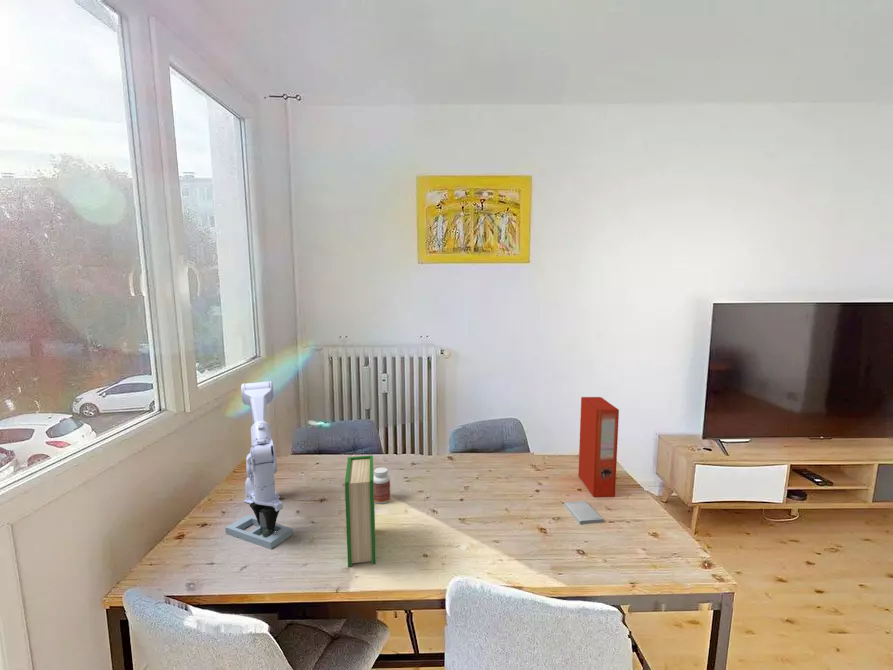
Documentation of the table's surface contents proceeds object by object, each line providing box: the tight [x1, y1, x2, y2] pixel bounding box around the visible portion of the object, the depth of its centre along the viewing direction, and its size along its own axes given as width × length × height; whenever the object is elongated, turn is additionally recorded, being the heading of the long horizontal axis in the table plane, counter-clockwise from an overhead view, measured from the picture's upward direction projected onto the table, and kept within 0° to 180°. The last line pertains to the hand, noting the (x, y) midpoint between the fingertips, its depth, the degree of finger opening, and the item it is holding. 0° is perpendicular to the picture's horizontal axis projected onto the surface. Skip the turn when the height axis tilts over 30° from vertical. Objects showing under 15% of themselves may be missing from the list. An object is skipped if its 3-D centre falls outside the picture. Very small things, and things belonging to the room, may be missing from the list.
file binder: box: [578, 396, 620, 498], centre depth 164 cm, size 8×17×32 cm, turn 1°
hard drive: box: [563, 500, 605, 525], centre depth 146 cm, size 2×8×12 cm
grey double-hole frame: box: [225, 514, 294, 550], centre depth 136 cm, size 19×8×2 cm, turn 64°
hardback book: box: [344, 454, 377, 568], centre depth 127 cm, size 18×7×24 cm, turn 10°
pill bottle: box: [373, 467, 391, 505], centre depth 156 cm, size 6×6×11 cm
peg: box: [259, 507, 275, 536], centre depth 134 cm, size 4×4×7 cm
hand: (266, 526), depth 134 cm, fingers closed on peg, 4 cm apart
